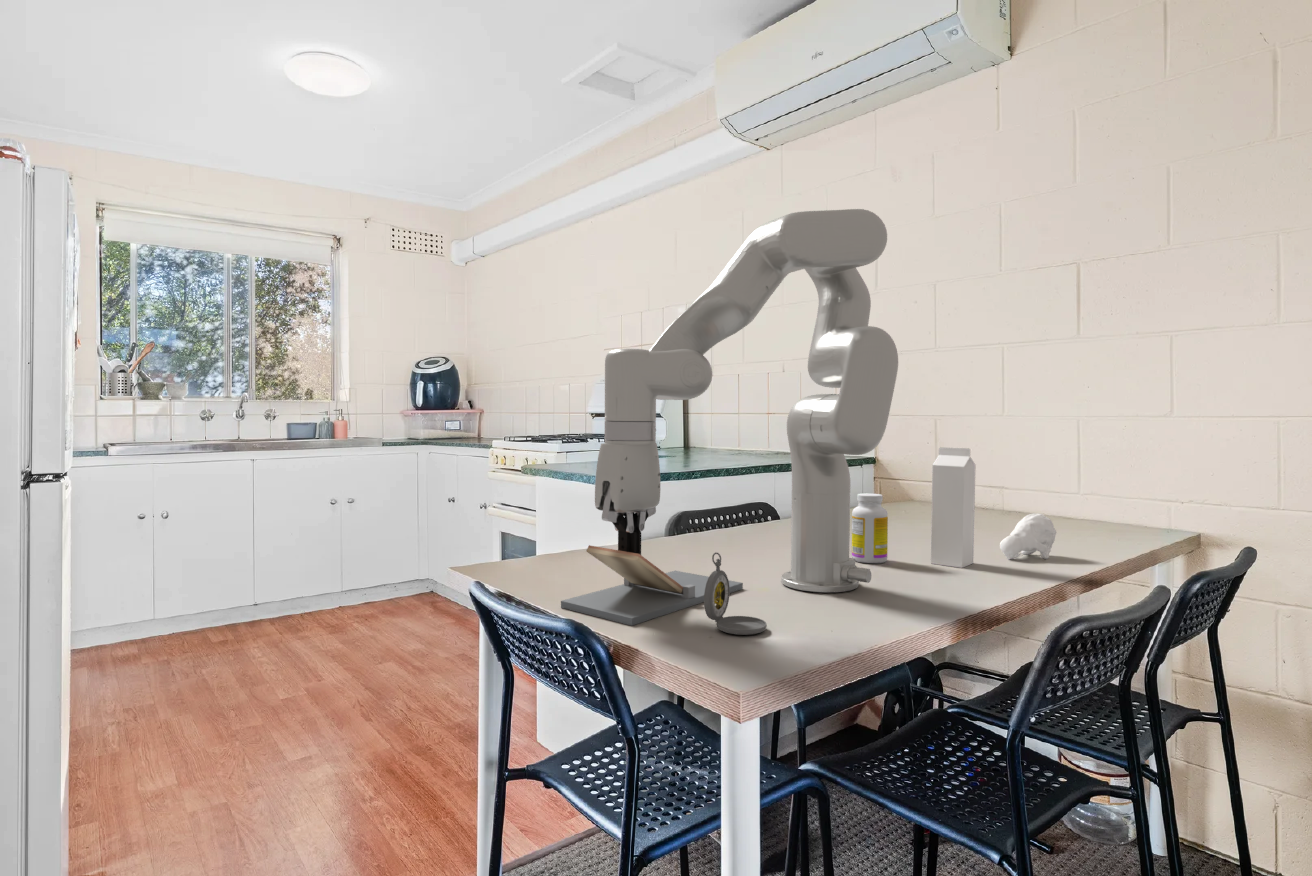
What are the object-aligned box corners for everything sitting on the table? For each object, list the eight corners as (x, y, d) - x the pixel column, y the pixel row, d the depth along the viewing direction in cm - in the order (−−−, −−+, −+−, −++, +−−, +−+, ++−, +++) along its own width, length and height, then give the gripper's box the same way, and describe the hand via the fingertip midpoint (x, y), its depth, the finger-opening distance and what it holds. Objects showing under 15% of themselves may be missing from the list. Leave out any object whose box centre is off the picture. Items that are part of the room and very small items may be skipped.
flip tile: (639, 553, 105) (636, 560, 105) (686, 589, 114) (684, 595, 114) (588, 545, 112) (586, 551, 111) (637, 579, 120) (634, 585, 120)
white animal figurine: (1059, 514, 148) (1016, 523, 143) (1060, 556, 148) (1018, 567, 143) (1031, 510, 153) (988, 519, 148) (1032, 551, 154) (990, 561, 149)
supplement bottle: (888, 558, 147) (889, 493, 146) (885, 565, 141) (887, 497, 140) (853, 556, 149) (854, 491, 149) (849, 562, 143) (850, 495, 143)
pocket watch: (771, 637, 97) (772, 559, 96) (706, 638, 96) (707, 560, 96) (758, 619, 105) (758, 548, 105) (698, 620, 104) (698, 548, 104)
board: (742, 589, 122) (742, 572, 122) (631, 625, 101) (631, 605, 101) (675, 576, 131) (675, 560, 131) (560, 607, 110) (560, 589, 110)
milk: (962, 568, 139) (964, 449, 138) (929, 563, 143) (932, 447, 142) (973, 563, 143) (976, 447, 142) (942, 558, 147) (944, 446, 146)
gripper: (644, 432, 118) (643, 547, 119) (575, 434, 107) (575, 562, 108) (681, 433, 114) (680, 553, 114) (614, 435, 102) (613, 569, 103)
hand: (629, 557), depth 111 cm, fingers closed
